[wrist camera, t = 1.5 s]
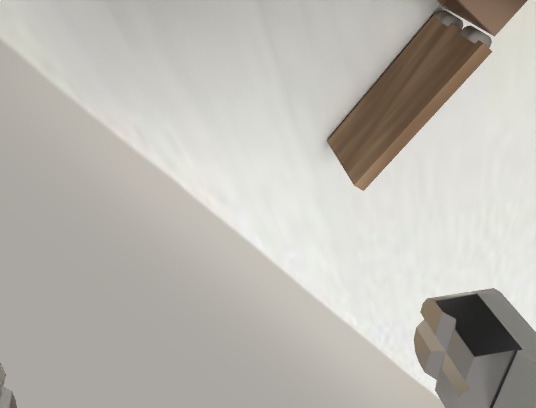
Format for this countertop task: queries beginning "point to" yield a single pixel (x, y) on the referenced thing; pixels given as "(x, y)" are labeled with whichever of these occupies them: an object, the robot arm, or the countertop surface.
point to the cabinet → (485, 12)
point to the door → (408, 96)
